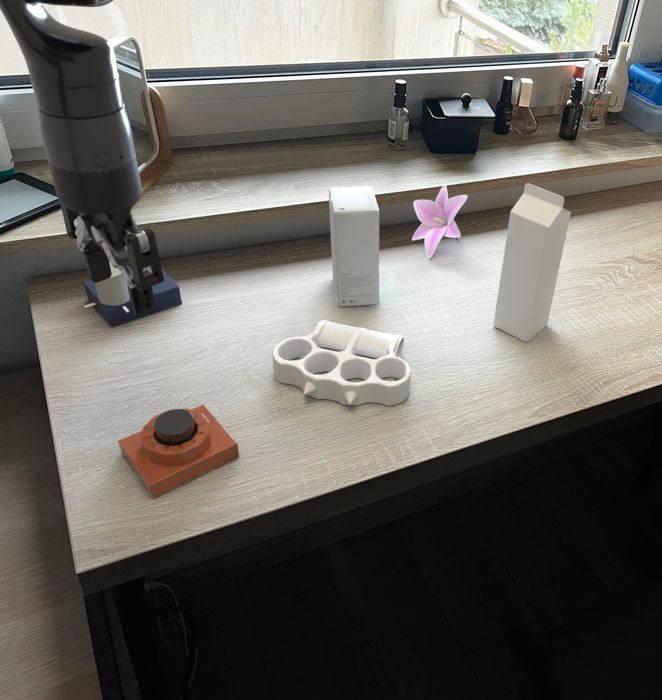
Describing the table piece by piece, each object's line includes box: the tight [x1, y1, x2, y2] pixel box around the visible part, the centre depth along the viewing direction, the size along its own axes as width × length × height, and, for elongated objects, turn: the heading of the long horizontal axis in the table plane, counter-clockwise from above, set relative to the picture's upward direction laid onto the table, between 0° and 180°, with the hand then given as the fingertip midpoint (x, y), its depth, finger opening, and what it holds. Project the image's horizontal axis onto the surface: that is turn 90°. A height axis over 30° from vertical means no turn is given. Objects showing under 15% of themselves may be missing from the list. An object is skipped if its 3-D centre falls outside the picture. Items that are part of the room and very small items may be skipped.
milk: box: [492, 182, 572, 343], centre depth 100 cm, size 6×6×22 cm
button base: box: [117, 404, 240, 499], centre depth 80 cm, size 10×8×4 cm
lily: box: [411, 183, 469, 260], centre depth 122 cm, size 12×12×10 cm
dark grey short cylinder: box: [154, 408, 196, 446], centre depth 78 cm, size 4×4×2 cm
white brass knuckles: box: [272, 319, 412, 407], centre depth 94 cm, size 3×18×15 cm
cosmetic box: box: [328, 185, 380, 308], centre depth 105 cm, size 8×7×16 cm
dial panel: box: [83, 266, 183, 328], centre depth 100 cm, size 12×10×3 cm
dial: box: [95, 261, 130, 306], centre depth 96 cm, size 4×4×5 cm
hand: (122, 295), depth 78 cm, fingers open, 8 cm apart
